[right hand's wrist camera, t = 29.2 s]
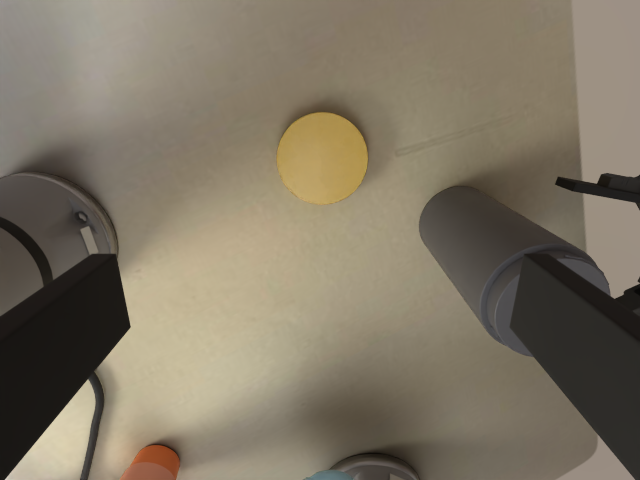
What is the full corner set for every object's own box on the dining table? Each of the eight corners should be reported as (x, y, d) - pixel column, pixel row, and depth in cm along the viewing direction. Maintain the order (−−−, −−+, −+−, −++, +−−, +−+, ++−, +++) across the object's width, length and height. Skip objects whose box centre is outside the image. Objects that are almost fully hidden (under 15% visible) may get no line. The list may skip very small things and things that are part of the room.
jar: (480, 262, 45) (586, 370, 27) (410, 251, 44) (471, 353, 26) (504, 192, 42) (640, 262, 24) (430, 180, 41) (512, 241, 24)
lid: (273, 115, 39) (271, 115, 37) (365, 108, 39) (366, 109, 37) (282, 203, 42) (281, 207, 41) (367, 198, 42) (368, 201, 40)
